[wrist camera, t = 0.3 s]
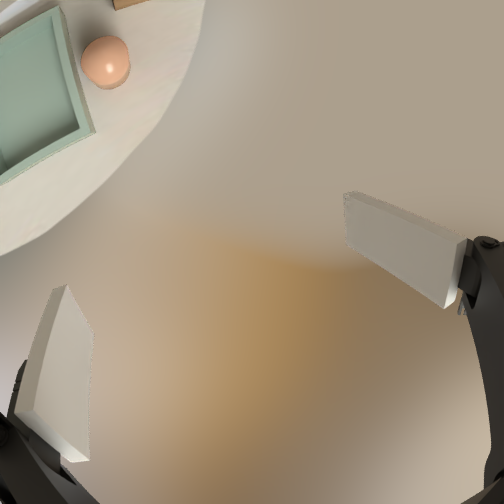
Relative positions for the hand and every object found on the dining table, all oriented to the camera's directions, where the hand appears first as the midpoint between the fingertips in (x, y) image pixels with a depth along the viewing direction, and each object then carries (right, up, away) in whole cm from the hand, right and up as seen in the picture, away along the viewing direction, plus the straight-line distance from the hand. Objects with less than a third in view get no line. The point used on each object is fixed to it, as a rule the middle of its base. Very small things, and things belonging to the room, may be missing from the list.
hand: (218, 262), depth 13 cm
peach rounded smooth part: (-16, +22, +15) cm, 31 cm away
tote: (-26, +20, +12) cm, 35 cm away
